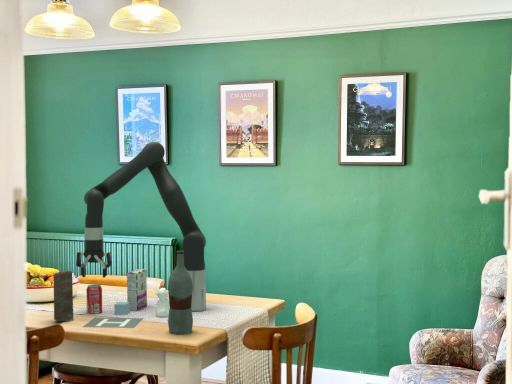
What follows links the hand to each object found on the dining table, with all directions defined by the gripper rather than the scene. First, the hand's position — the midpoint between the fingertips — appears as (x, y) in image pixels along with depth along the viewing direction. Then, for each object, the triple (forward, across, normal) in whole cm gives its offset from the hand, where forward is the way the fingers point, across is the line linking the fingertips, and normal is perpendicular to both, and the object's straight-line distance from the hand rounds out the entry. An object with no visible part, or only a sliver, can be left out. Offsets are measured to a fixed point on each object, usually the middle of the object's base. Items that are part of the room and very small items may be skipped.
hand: (94, 277), depth 274 cm
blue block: (+15, -12, +1) cm, 20 cm away
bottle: (+15, -41, +27) cm, 52 cm away
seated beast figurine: (+15, -30, +3) cm, 34 cm away
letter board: (+15, -13, +17) cm, 27 cm away
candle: (+16, +8, +14) cm, 22 cm away
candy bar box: (+15, -15, -12) cm, 25 cm away
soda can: (+16, 0, 0) cm, 16 cm away
